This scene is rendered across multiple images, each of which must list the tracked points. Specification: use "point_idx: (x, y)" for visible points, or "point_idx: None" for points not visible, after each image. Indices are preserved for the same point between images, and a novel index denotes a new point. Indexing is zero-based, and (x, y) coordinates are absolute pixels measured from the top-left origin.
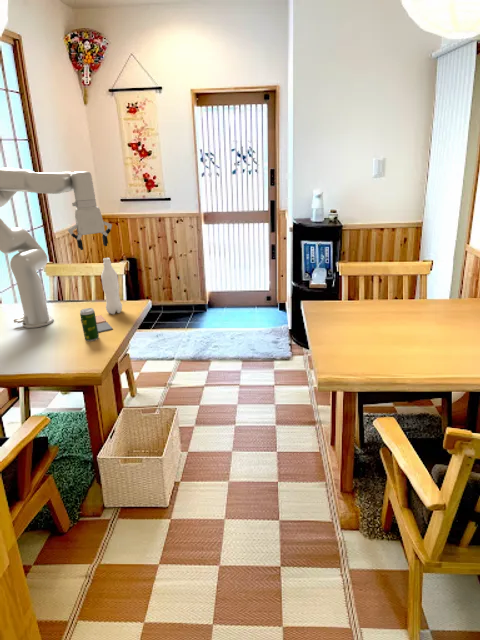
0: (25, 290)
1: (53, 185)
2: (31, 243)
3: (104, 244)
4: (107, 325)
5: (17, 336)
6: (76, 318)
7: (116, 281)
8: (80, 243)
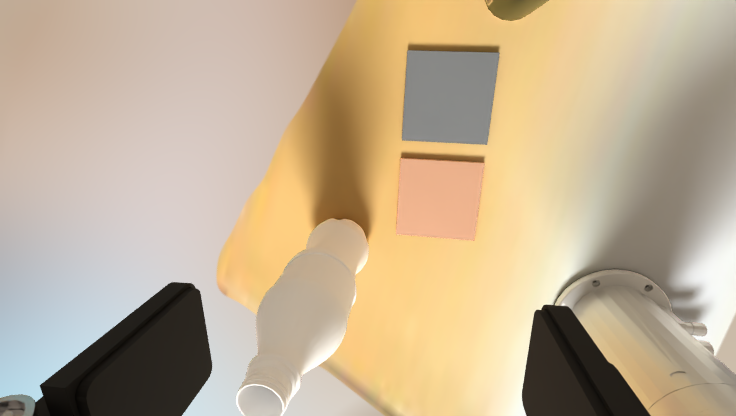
0: None
1: None
2: None
3: (195, 334)
4: (413, 97)
5: (726, 229)
6: (477, 272)
7: (282, 276)
8: (618, 388)
